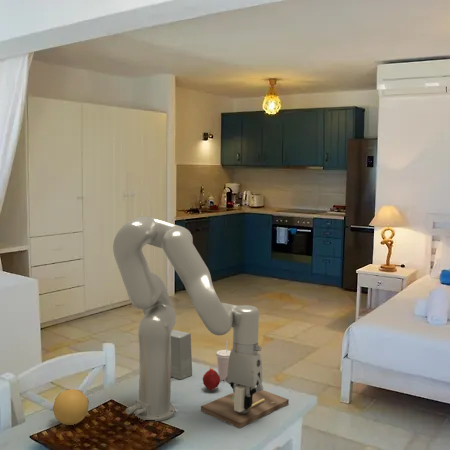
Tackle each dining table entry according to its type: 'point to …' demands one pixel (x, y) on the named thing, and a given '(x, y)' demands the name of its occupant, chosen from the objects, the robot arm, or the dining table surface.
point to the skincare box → (181, 354)
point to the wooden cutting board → (226, 412)
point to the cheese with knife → (242, 400)
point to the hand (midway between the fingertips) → (243, 405)
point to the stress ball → (70, 407)
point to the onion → (211, 379)
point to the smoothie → (223, 362)
